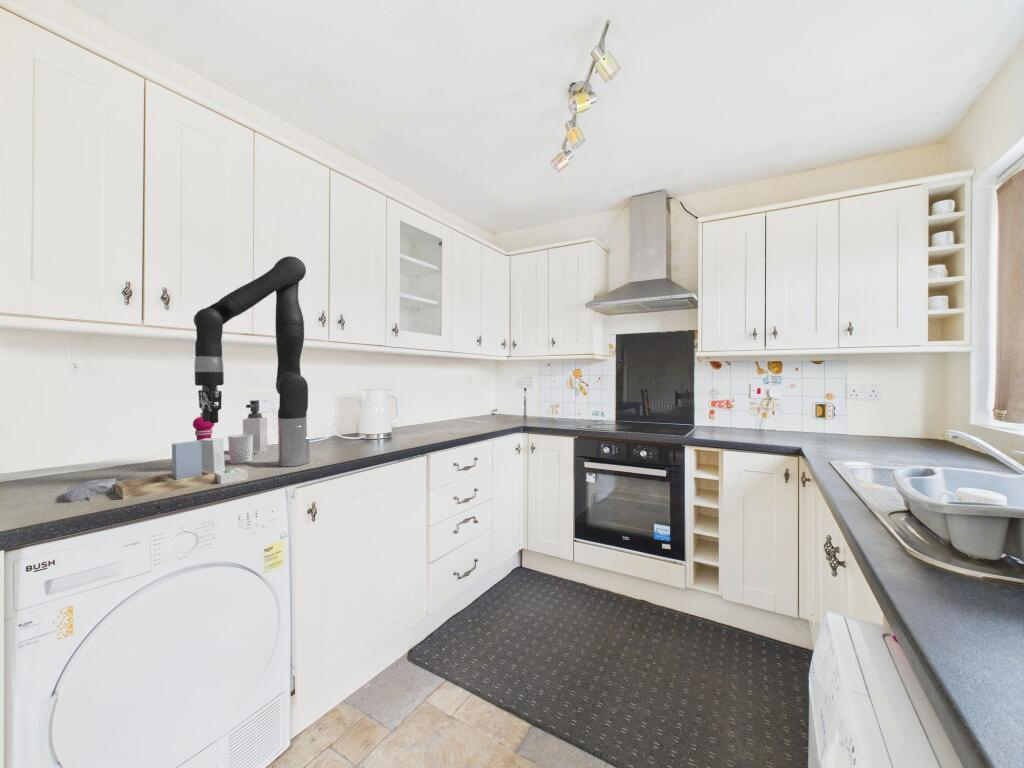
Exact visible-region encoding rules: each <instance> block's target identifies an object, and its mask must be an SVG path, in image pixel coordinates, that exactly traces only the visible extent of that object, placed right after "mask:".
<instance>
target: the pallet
mask: <svg viewBox="0 0 1024 768" xmlns="http://www.w3.org/2000/svg"><path fill="white" fill-rule="evenodd" d="M215 483H216V482H215V474H213V473H211V472H208V471H206V470H204V469H202V476H197V477H191V478H185V479H179V480H173V473H169V474H163V475H157V476H155V475H154V476H150V477H149V476H148V477H143V478H137V479H132V480H131V479H130V480H123V481H116V483H115V492H114V493H115V494H116V495H117V496H119V497H120V498H121V499H122V500H128V499H133V498H139V497H144V496H145V497H146V496H150V495H154V494H155V495H157V494H161V493H167V492H172V491H177V490H182V489H183V490H184V489H190V488H195V487H199V486H204V485H210V484H211V485H212V484H215Z"/></svg>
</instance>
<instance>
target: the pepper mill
mask: <svg viewBox="0 0 1024 768" xmlns="http://www.w3.org/2000/svg"><path fill="white" fill-rule="evenodd" d="M199 415H200V416H198V417H196V418H195V419H193V422H192V427H193V428H194V429H195V431H194V435H195V436H196V441H197V440H201V439H206V438H212V434H214V433H213V428H214V427H215V423H210V422H203V417H202V412H200V413H199Z"/></svg>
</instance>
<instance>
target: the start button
mask: <svg viewBox="0 0 1024 768" xmlns="http://www.w3.org/2000/svg"><path fill="white" fill-rule="evenodd" d="M230 472H235V469H234V468H229V469H228V468H227V469H225V473H230Z"/></svg>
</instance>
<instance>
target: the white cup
mask: <svg viewBox="0 0 1024 768" xmlns="http://www.w3.org/2000/svg"><path fill="white" fill-rule="evenodd" d="M227 440H228V441H227V443H228V451H229V452H228V453H229V461H230V464H232V463H234V464H246V463H245V462H247V463H249V461H251V462H252V461H253V454H252V449H253V435H252V434H243V433H242V434H241V433H240V434H232V435H228V436H227Z"/></svg>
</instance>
